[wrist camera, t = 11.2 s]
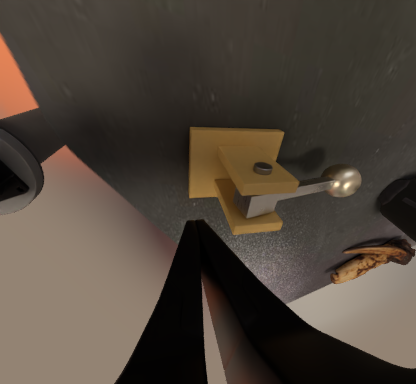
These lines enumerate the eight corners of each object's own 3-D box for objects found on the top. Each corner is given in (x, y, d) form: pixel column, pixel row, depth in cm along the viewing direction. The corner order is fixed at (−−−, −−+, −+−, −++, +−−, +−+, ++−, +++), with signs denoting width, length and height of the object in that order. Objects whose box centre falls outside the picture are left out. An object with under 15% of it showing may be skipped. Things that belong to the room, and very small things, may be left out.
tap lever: (342, 157, 20) (377, 171, 18) (328, 184, 22) (357, 200, 20) (234, 170, 15) (259, 193, 13) (228, 204, 17) (248, 230, 15)
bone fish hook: (403, 219, 37) (322, 259, 39) (431, 236, 33) (339, 279, 35) (398, 244, 42) (326, 278, 44) (422, 261, 38) (342, 297, 40)
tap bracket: (279, 129, 20) (342, 162, 13) (262, 189, 24) (301, 239, 17) (189, 126, 18) (205, 164, 11) (188, 192, 22) (199, 250, 15)
